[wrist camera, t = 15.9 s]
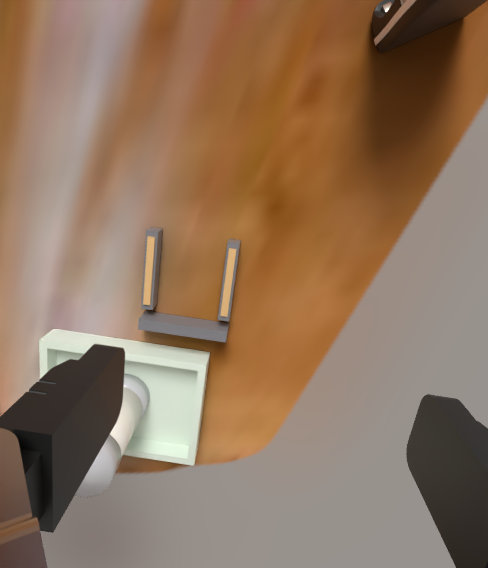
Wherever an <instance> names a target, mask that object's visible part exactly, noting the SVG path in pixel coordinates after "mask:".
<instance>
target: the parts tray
mask: <svg viewBox="0 0 488 568" xmlns="http://www.w3.org/2000/svg"><path fill="white" fill-rule="evenodd" d="M94 344H101V345H108V346H114V347H121V348H124V351H125V368H124V373H126V374H132V375H134V376H136V377H138V378H140V379H141V380H142V381H143V382H144V383H145V384H146V385H147V387H148V389H149V392H150V401H149V404H148V406H147V408H146V410H145V412H144V414H143V416H142V418H141V420H140V421H139V422H138V424H137V426H136V428H135V430H134V433H133V435H132V437H131V439H130V441H129V443H128V445H127V447H126V449H125V451H124V453H123V455H127V456H134V457H140V458H147V459H153V460H160V461H166V462H173V463H179V464H186V465H193V466H194V464H195V459H196V455H197V451H198V446H199V438H200V430H201V422H202V414H203V406H204V398H205V390H206V382H207V374H208V366H209V359H210V352H206V351H199V350H193V349H186V348H179V347H173V346H166V345H159V344H153V343H146V342H140V341H133V340H126V339H120V338H113V337H106V336H100V335H93V334H86V333H80V332H73V331H66V330H60V329H53V330H51V331H50V332H49V333H48V334H46V335H45V336H44V337H42V338H41V339H40V340H39V353H40V379H41V378H42V377H43V376H44V375H45V374H46V373H47V372H48V371H49V370H50V369H51V368H52V367H55V366H57V365H59V364H61V363H63V362H65V361H67V360H69V359H74V360H79V359H80V358H81V357H82V356H83V355H84V354H85V353H86V352H87V351H88V350H89V349H90V348H91V346H92V345H94Z"/></svg>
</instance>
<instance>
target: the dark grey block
mask: <svg viewBox="0 0 488 568" xmlns="http://www.w3.org/2000/svg"><path fill="white" fill-rule="evenodd" d="M486 1H487V0H383V1H382V2H380V3H379V4H378V5H377V7H376V8H375V10H374V12H373V16H372V29H373V34H374V37H375V39H374V42H375V46H376V45H377V48H378V51H379V52H381V53H383V52H386V51H388V50H391V49H393V48H395V47H398V46H400V45H402V44H404V43H407V42H409V41H411V40H414V39H416V38H418V37H421V36H423V35H425V34H427V33H430V32H432V31H434V30H436V29H439V28H441V27H443V26H446V25H448V24H450V23H452V22H455V21H457V20H459V19H461V18H464V17H466V16H467V15H468V14H470V13H471V12H472V11H474V10H475V9H476V8H478V7H479V6H480V5H482V4H483V3H484V2H486Z"/></svg>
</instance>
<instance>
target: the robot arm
mask: <svg viewBox="0 0 488 568" xmlns="http://www.w3.org/2000/svg"><path fill="white" fill-rule="evenodd" d="M124 368H125V351H124V348H121V347H114V346H108V345H101V344H94V345H92V346H91V348H90V349H89V350H88V351H87V352H86V353H85V354H84V355H83V356H82V357H81V358H80V359H79V360H74V359H69V360H67V361H65V362H63V363H61V364H59V365H57V366H55V367H52V368H51V369H50V370H49V371H48V372H47V373H46V374H45V375H44V376H43V377H42V378H41V379H40V381H39V382H36V383H35V384H34V385H33V386H32V387H31V388H30V389H29V392H26V393H25V394H24V395H23V396H22V397H21V398H20V399H19V400H18V401H17V402H16V403H14V404H13V405H12V406H11V407H10V408H9V409H8V410H7V411H6V412H5V413H4V414H3V415H2V416H1V417H0V568H47V562H46V557H45V552H44V547H43V542H42V537H41V532H40V531H46V532H52V533H53V532H54V530H55V528H56V526H57V525H58V523H59V521H60V520H61V518H62V516H63V514H64V513H65V511H66V509H67V507H68V506H69V504H70V502H71V500H72V499H73V497H74V495H75V494H76V492H77V490H78V488H79V487H80V485H81V483H82V481H83V480H84V478H85V476H86V474H87V473H88V471H89V469H90V468H91V466H92V464H93V462H94V461H95V459H96V457H97V455H98V454H99V452H100V450H101V448H102V447H103V445H104V443H105V442H106V440H107V438H108V436H109V435H110V433H111V431H112V429H113V428H114V426H115V424H116V422H117V420H118V418H119V415H120V411H121V407H122V402H123V387H124ZM407 462H408V466H409V469H410V471H411V473H412V475H413V477H414V479H415V482H416V484H417V486H418V488H419V490H420V492H421V494H422V496H423V499H424V501H425V503H426V505H427V507H428V509H429V511H430V513H431V515H432V518H433V520H434V522H435V524H436V526H437V528H438V530H439V532H440V534H441V537H442V539H443V541H444V543H445V545H446V547H447V549H448V551H449V553H450V556H451V558H452V559H453V562H454V564H455V566H456V568H488V428H486V427H485V426H484V425H482V424H481V423H480V422H478V421H476V420H475V419H474V417H473V416H472V415H471V414H470V413H469V411H468V410H467V409H466V408H465V406H464V405H463V404H462V403H461V402H460V401H459V400H458V399H455V398H448V397H441V396H435V395H425V396H424V397H423V399H422V400H421V403H420V406H419V409H418V412H417V415H416V418H415V421H414V425H413V428H412V431H411V434H410V437H409V441H408V444H407Z"/></svg>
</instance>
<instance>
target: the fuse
mask: <svg viewBox="0 0 488 568" xmlns="http://www.w3.org/2000/svg"><path fill="white" fill-rule="evenodd" d="M149 401H150V392H149V389H148V387H147V385H146V384H145V383H144V382H143V381H142V380H141V379H140V378H138V377H136V376H134V375H132V374H126V373H124V387H123V402H122V407H121V411H120V415H119V418H118V420H117V422H116V424H115V426H114V428H113V429H112V431H111V433H110V435H109V436H108V438H107V440H106V442H105V443H104V445H103V447H102V448H101V450H100V452H99V454H98V455H97V457H96V459H95V461H94V462H93V464H92V466H91V468H90V469H89V471H88V473H87V474H86V476H85V478H84V480H83V481H82V483H81V485H80V487H79V488H78V490H77V492H76V494H75V495H74V496H78V497H93V496H97V495H99V494H101V493H103V492H104V491H105V490H106V489H107V488H108V487H109V485H110V483H111V481H112V479H113V477H114V475H115V473H116V471H117V469H118V467H119V465H120V462H121V458H122V455H123V453H124V451H125V449H126V447H127V445H128V443H129V441H130V439H131V437H132V435H133V433H134V430H135V428H136V426H137V424H138V422H139V421H140V420H141V418H142V416H143V414H144V412H145V410H146V408H147V406H148V404H149Z"/></svg>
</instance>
